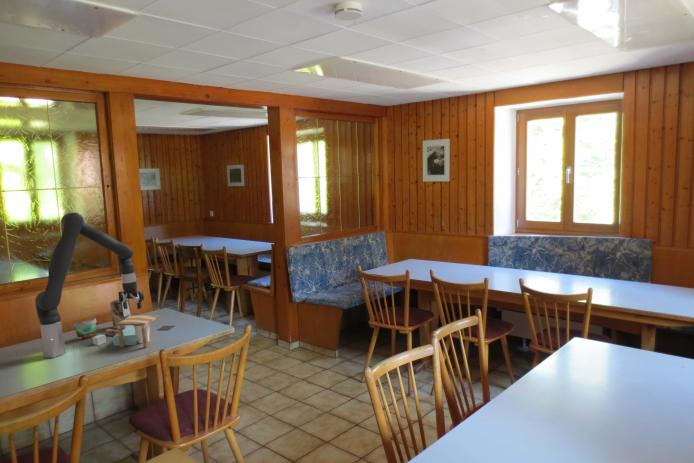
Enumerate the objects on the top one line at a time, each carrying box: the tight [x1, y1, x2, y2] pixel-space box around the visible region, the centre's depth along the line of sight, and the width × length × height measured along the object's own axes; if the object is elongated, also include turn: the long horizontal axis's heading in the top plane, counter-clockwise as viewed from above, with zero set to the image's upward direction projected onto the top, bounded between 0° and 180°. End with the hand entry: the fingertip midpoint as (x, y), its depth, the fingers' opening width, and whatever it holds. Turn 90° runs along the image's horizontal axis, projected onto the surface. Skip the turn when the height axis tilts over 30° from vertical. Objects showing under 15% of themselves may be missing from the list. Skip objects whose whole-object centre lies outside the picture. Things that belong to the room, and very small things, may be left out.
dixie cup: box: [133, 322, 151, 344], centre depth 266 cm, size 8×8×10 cm
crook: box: [112, 325, 138, 347], centre depth 274 cm, size 22×12×5 cm, turn 178°
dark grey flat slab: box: [156, 325, 175, 331], centre depth 288 cm, size 7×7×1 cm
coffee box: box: [109, 299, 132, 330], centre depth 296 cm, size 9×6×16 cm
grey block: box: [91, 334, 107, 346], centre depth 269 cm, size 5×4×4 cm
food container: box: [73, 317, 98, 341], centre depth 279 cm, size 12×6×10 cm, turn 143°
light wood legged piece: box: [116, 314, 161, 349], centre depth 264 cm, size 14×16×13 cm
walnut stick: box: [104, 328, 118, 337], centre depth 282 cm, size 12×2×3 cm, turn 70°
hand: (132, 308), depth 281 cm, fingers open, 8 cm apart
